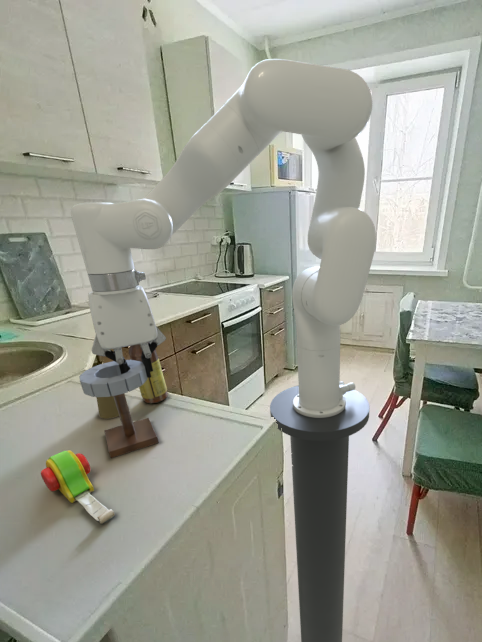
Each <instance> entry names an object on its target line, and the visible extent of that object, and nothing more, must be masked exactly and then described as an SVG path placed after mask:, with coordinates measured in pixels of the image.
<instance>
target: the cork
mask: <svg viewBox="0 0 482 642" xmlns="http://www.w3.org/2000/svg"><path fill="white" fill-rule="evenodd" d="M95 398H96V403H97V410H98V416H99V418H101V419H103V420H109V419H110V420H111V419H114V418H117V417H120V416H119V413H118V410H117V406H116V403H115V400H114V396H112V395H111V396H110V397H95Z"/></svg>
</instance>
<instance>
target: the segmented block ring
mask: <svg viewBox="0 0 482 642" xmlns="http://www.w3.org/2000/svg"><path fill="white" fill-rule="evenodd" d="M125 360H126V362H127V364H128V368H129V371H128V372H126V373H124V374H122V375H121V371H120V368H119V364H118V363H117V362H115V361H113V360H111V361H108V362H103V363H100V364H98V365H97V364H96V365H94V366H92V367H89V368H88V369H86V370H85V371H83V372H82V373H81V374H80V375H79V383H80V386H81V389H82V392H83V394H84V395H86V396H89V397H92V398H96V397H110V396H111V395H112V396H116V395H120V394H127V393H129V392H133V391H134V390H137V389H139V387H140V386H141V385H143V384H144V383H145V382H146V380H147V374H146V370H145V366H144V364H143V363H142V362H140V361H136V360H131V359H125Z"/></svg>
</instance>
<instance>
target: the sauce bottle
mask: <svg viewBox="0 0 482 642" xmlns="http://www.w3.org/2000/svg"><path fill="white" fill-rule="evenodd" d="M147 343H149V342H147ZM128 355H129V360H136V361H140V362H142V360H141V356H142V349H141V346H140V344H136V345H131V346H129V349H128ZM150 359H151V363H152V368H153V371H152V372H150V373H151V378H147V380H146V382H145V383H144V384H143V385H141V386H140V387H138V389H139V392H140V396H141V397H142V400H143V402H145V403H146V404H158V403H160V402H163V401H165V400H166V399H167V398H168V396H169V392H168V387H167V384H166V380H165V377H164V373H163V369H162V365H161V362H160V358H159V356H158V353H157V348H156V349H155V350H154V352H153V353H152V356H151V357H150Z"/></svg>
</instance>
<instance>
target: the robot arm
mask: <svg viewBox="0 0 482 642" xmlns="http://www.w3.org/2000/svg"><path fill="white" fill-rule="evenodd" d="M372 111H373V97H372V92H371V88H370V87H369V85H368V83H367V82H366V80H365V79H364V78H363V77H362V76H360V75H359V74H358V73H357V72H354V71H353V70H350V69H346V68H342V67H336V66H331V65H329V66H328V65H322V64H318V63H317V64H316V63H311V62H305V61H298V60H291V59H284V58H268V59H263V60H261V61H259V62H257V63H255V64H254V65H253V66H252V67H251V68H250V70H249V72H248V73H247V75H246V77H245V79H244V80H243V83H242V84H241V85H240V86H239V88H238V89H237V90H236V91H235V92H234V93H233V94H232V95H231V96H230V97H229V98H228V99H227V100H226V102H224V103H223V105H222V106H221V107H219V109H218V110H217V111H216V112H215V113H214V114H213V115H212V116H211V117H210V118H209V119H208V120H207V121H206V122H205V123H203V125H202V126H201V127H200V128H199V129H198V130H197V131H196V132H195V133H193V135H192V136H191V137H190V138H189V140H188V141H187V142H186V143H185V145H184V146H183V148H182V150H181V151H180V153H179V155H178V157H177V159H176V161H175V162H174V163H173V165H172V166H171V168H170V169H169V170H168V171H167V173H166V174H165V175H164V176H163V177H162V178H161V180H159V182H158V183H156V185H155V186H154V187H153V188H152V189H151V190H150V191H149V192H148V193H147V194H146V195H145V196H143V198H139V199H138V198H137V199H133V200H127V201H123V202H122V201H121V202H115V203H113V202H107V201H105V202H104V201H103V202H102V201H99V202H98V201H97V202H96V201H95V202H94V201H93V202H80V203H76V204H73V206H72V207H71V209H70V216H71V220H72V224H73V227H74V231H75V234H76V238H77V241H78V245H79V249H80V252H81V256H82V258H83V263H84V265H85V270H86V273H87V277H88V280H89V283H90V286H91V291H88V295H87V296H88V307H89V311H90V312H89V313H90V316H91V320H92V324H93V329H94V333H95V335H94V339H93V343H92V347H91V353H92V355H95V356H101V357H105V358H108V359H109V360H111V361H115V362H117V363H118V364H119V368H120V371H121V375H122V374H124V373H126V372H128V371H129V368H128V364H127V362H126V360H127V359H126V358H125V357H124V353H123V349H122V348H126V347H130V346H131V345H136V344H140V346H141V349H142V356H141V360H142V363H143V364H144V366H145V370H146V374H147V378H151V373H150V372H152V371H153V368H152V363H151V359H150V357H151V356H152V353H153V352H154V350H155V349H156V350H157V348H158V346H160V345H161V344H162V343H164V342H166V340H167V337H166V336H165V335H164V333H163V332H162V331H161V330H160V329H159V327H158V326H157V325H156V321H155V318H154V314H153V311H152V308H151V304H150V301H149V299H148V296H147V293H146V292H145V291H146V290H145V289H144V287H143V286H142V285H140V283H141V282H142V281H145V280H146V279H147V277H146V273H145V271H138V270H136V267H135V263H134V258H133V253H132V249H138V250H140V249H141V250H158V249H161V248H162V247H164V246H166V245H167V244H168V243H169V242H170V240H171V239H172V236H173V235H174V234H175V233H176V232H177V231H178V230H179V229H180V228H181V227H182V226H183V225H184V224H185V223H186V222H187V221H188V220H189V219H190V218H191V217H192V216H193V215H194V214H195V213H197V211H198V210H199V209H200V208H202V207H203V206H204V205H205V204H206V203H207V202H209V201H210V200H212V199H213V198H215V197H216V196H218V195H220V193H222V192H223V191H224V190H225V189H226V188H227V187H228V186H229V185H231V183H232V182H233V181H234V180H235V179H237V177H238V176H239V175H240V174H241V173H242V172H243V171H244V170H245V169H246V168H247V167H248V166H249V165H250V164H251V163H252V162H253V161H254V160H256V158H257V157H258V156H260V155H261V153H262V152H263V151H264V150H265V149H266V148H267V147H268V146H270V144H272V142H273V141H274V140H276V138H277V137H278V136H279V135H280V134H281V133H283V132H284V133H290V134H296V135H301V137H302V139H303V141H304V143H305V144H306V145H307V147H308V148H309V150H310V151H311V152H312V153H311V154H312V155H313V156H314V159H315V162H316V165H317V170H318V171H317V172H318V173H317V174H318V177H317V186H316V193H315V197H314V202H313V208H312V212H311V217H310V218H311V219H310V223H309V226H308V231H307V246H308V249H309V251H310V252H311V254H312V255H313V256H315V257H316V258H318V259H320V263H319V266H312V267H311V266H310V267H308V268H306V269H304V270H302V271H300V273H299V274H298V275H297V276H296V278H295V280H294V282H293V285H292V290H291V292H292V293H291V298H292V305H293V306H292V307H293V312H294V319H295V329H296V353H297V372H298V373H297V376H298V377H297V380H298V381H297V382H298V385H299V394H298V395H297V396H295V398H294V399H293V408H294V409H295V410H296V411H297V412H298V413H300V414H301V415H304V416H307V417H313V418H326V417H331V416H334V415H337V414H339V413H340V412H342V411H343V410H344V409H345V407H346V400H345V398H344V397H343V395H344V394H345V393H346V392H349V391H352V390H356V384H355V383H354V382H352V381H351V382H348V383H346V384H345V382H344V381H343V380H341V379H340V377H341V375H340V374H341V325H344V324H346V323H348V322H349V321H350V320H351V319H352V318H354V316H355V315H356V313H357V312H358V310H359V307H360V305H361V303H362V299H363V296H364V293H365V288H366V285H367V282H368V278H369V275H370V270H371V266H372V263H373V260H374V255H375V251H376V245H377V232H376V227H375V224H374V221H373V219H372V217H371V216H370V215H369V214H368V213H367V212H366V211H365V210H363V209H361V208H360V206H361V201H362V195H363V191H364V185H365V177H366V175H365V174H366V171H365V161H364V157H363V153H362V150H361V148H360V145H359V143H358V140H357V137H358V136H359V135H360V134H361V133H363V131H364V130H365V129H366V128H367V126H368V124H369V121H370V119H371V116H372ZM147 342H149V343H147Z"/></svg>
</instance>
